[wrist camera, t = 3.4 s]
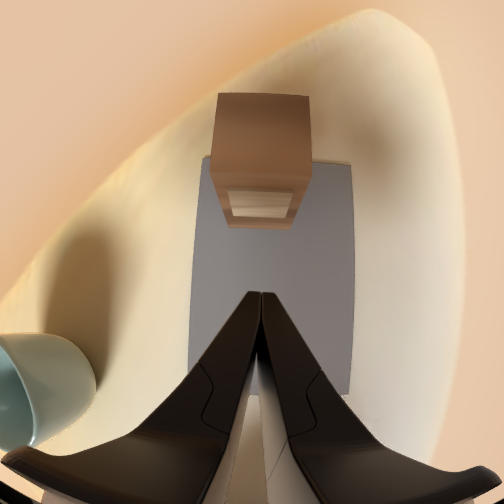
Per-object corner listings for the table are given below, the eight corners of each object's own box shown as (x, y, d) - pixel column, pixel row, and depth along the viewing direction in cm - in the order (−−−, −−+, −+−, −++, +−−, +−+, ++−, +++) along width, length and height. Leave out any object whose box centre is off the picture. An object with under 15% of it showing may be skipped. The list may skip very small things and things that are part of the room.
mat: (346, 392, 21) (348, 394, 21) (188, 388, 22) (187, 389, 21) (349, 167, 24) (350, 165, 24) (203, 160, 25) (202, 157, 24)
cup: (79, 314, 23) (-3, 312, 13) (125, 397, 21) (58, 440, 12) (27, 352, 22) (-51, 361, 12) (66, 427, 21) (-2, 464, 11)
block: (289, 232, 23) (312, 180, 13) (228, 230, 23) (208, 176, 13) (290, 174, 24) (308, 96, 14) (232, 172, 24) (218, 92, 14)
